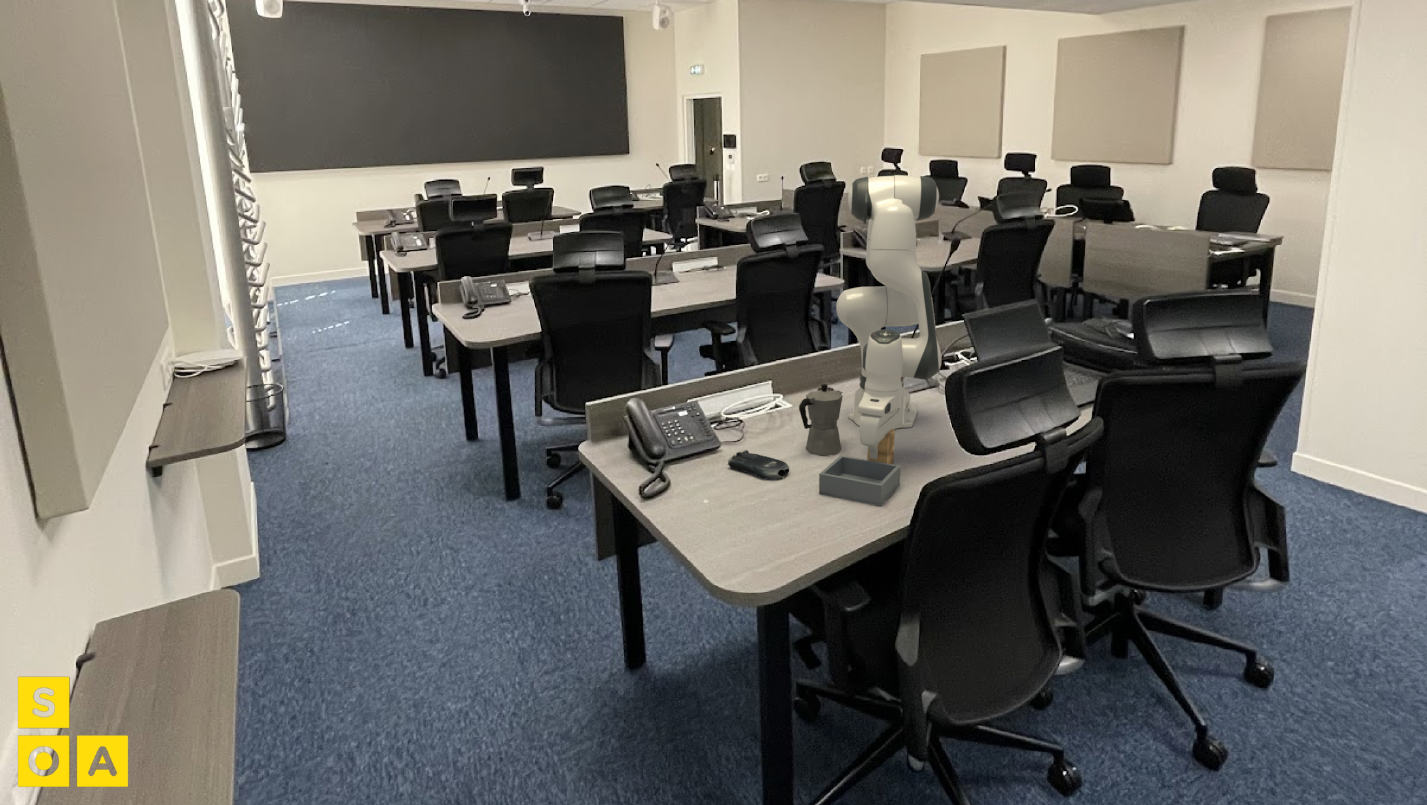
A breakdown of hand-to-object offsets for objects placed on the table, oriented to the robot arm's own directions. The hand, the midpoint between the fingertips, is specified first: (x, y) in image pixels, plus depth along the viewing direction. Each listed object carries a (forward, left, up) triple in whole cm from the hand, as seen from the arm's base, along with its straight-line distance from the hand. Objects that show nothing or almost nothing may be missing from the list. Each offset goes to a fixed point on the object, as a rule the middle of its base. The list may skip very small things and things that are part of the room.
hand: (880, 451), depth 214 cm
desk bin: (+14, 0, -5) cm, 15 cm away
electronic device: (+14, -26, -5) cm, 30 cm away
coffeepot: (-5, -18, -5) cm, 19 cm away
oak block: (0, 0, -5) cm, 5 cm away
